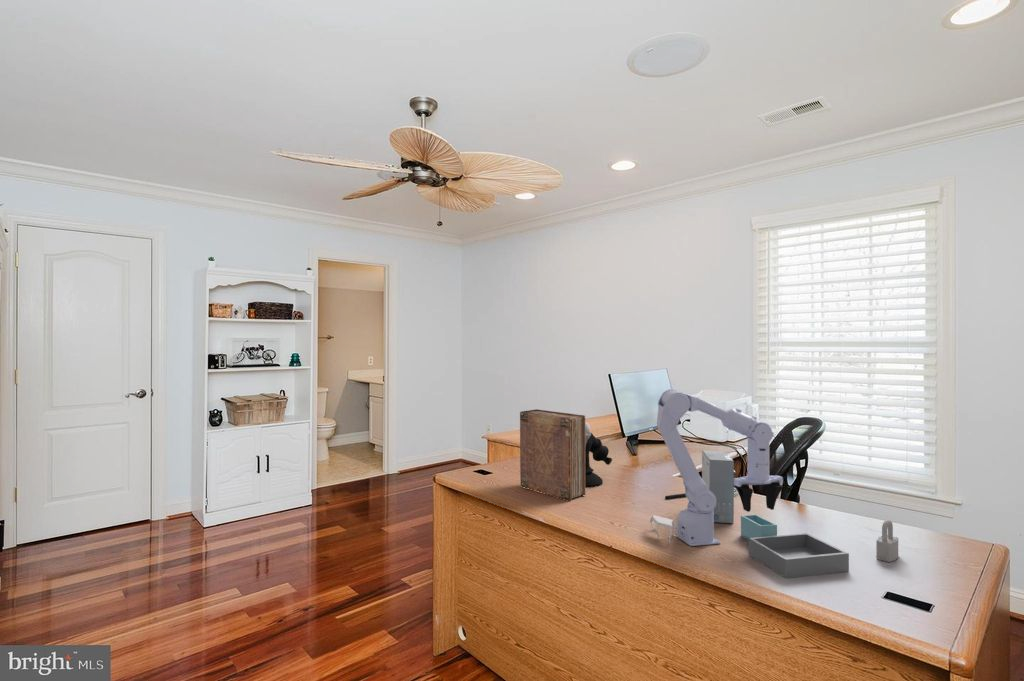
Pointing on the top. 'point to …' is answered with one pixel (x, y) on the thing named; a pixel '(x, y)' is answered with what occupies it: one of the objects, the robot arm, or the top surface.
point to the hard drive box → (720, 483)
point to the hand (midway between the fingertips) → (758, 509)
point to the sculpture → (594, 457)
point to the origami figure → (664, 524)
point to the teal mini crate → (756, 527)
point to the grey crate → (798, 555)
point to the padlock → (887, 543)
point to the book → (553, 453)
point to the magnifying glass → (685, 495)
